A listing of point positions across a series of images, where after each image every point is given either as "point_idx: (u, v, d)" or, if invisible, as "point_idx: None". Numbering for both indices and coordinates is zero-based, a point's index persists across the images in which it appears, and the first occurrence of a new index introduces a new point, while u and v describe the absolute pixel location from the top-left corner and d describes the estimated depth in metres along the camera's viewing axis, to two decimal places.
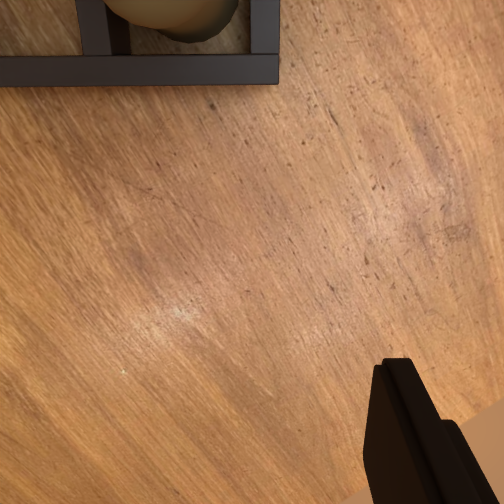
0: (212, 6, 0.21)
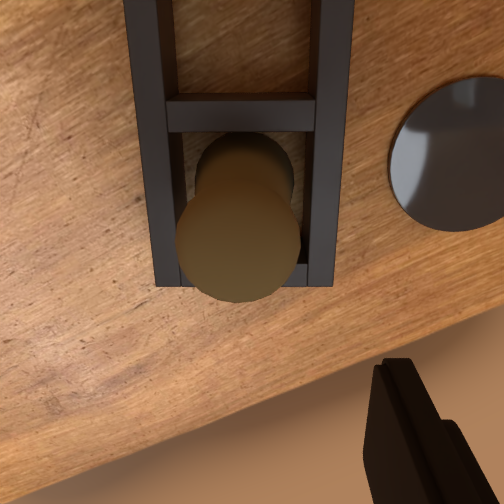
0: None
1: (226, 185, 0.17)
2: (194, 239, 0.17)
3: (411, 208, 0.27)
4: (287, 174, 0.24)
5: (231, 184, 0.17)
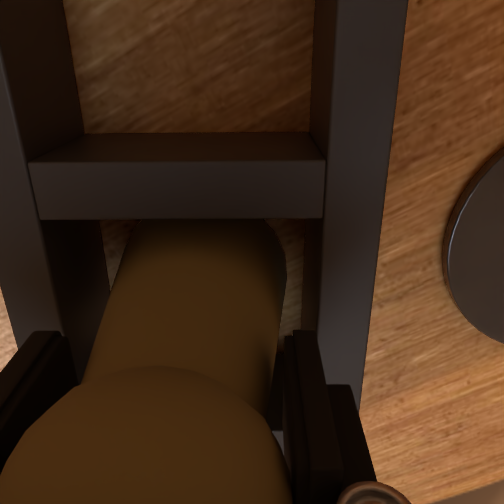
0: None
1: (101, 420, 0.07)
2: None
3: (479, 317, 0.16)
4: (273, 279, 0.14)
5: (115, 416, 0.07)
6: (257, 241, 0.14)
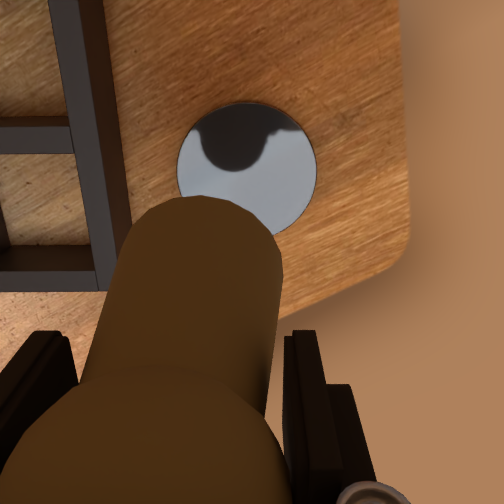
0: None
1: (101, 420, 0.07)
2: None
3: None
4: (270, 279, 0.14)
5: (115, 416, 0.07)
6: (254, 241, 0.14)
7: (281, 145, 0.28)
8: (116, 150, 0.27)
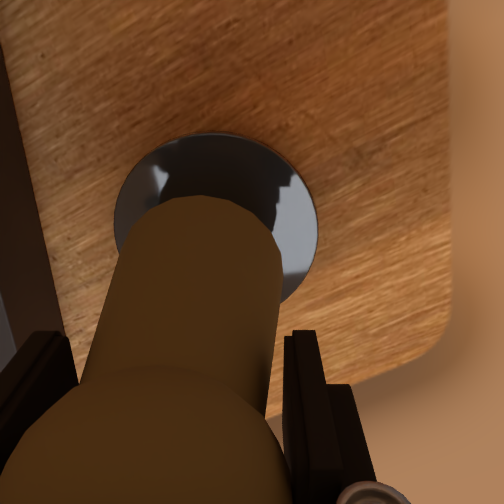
0: None
1: (101, 420, 0.07)
2: None
3: None
4: (270, 279, 0.14)
5: (115, 416, 0.07)
6: (254, 241, 0.14)
7: (266, 194, 0.19)
8: (19, 202, 0.18)
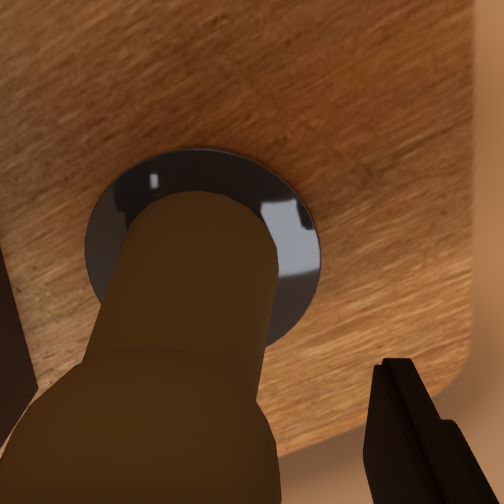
0: None
1: (100, 392, 0.07)
2: None
3: None
4: (265, 271, 0.14)
5: (112, 388, 0.07)
6: (249, 234, 0.15)
7: (260, 218, 0.16)
8: None
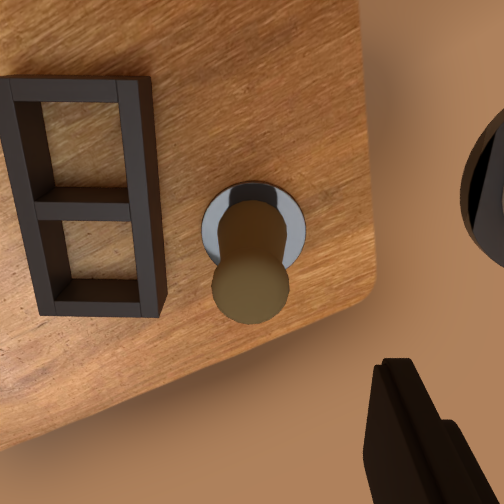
0: None
1: (245, 253, 0.28)
2: (225, 286, 0.28)
3: None
4: (282, 233, 0.35)
5: (248, 253, 0.28)
6: (276, 218, 0.36)
7: (280, 212, 0.37)
8: (158, 214, 0.37)
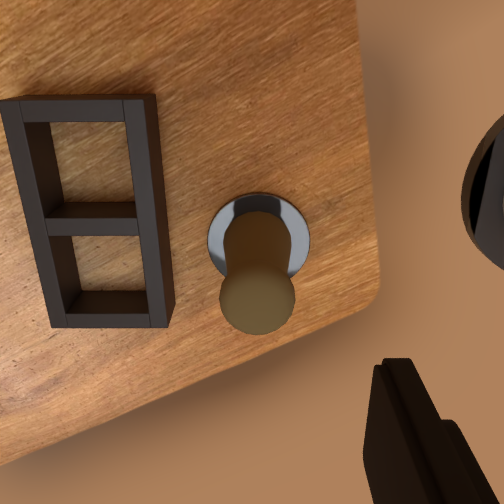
0: None
1: (251, 266, 0.29)
2: (232, 299, 0.29)
3: None
4: (287, 243, 0.36)
5: (254, 266, 0.29)
6: (280, 229, 0.36)
7: (284, 223, 0.38)
8: (165, 227, 0.37)
